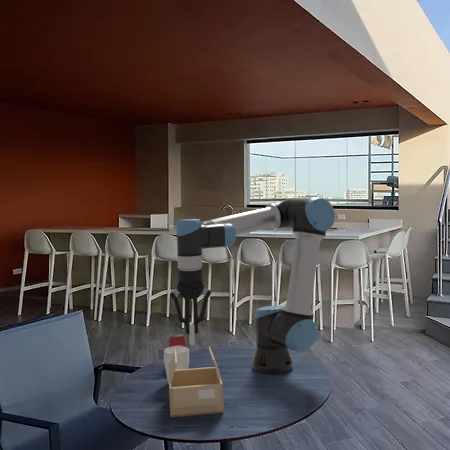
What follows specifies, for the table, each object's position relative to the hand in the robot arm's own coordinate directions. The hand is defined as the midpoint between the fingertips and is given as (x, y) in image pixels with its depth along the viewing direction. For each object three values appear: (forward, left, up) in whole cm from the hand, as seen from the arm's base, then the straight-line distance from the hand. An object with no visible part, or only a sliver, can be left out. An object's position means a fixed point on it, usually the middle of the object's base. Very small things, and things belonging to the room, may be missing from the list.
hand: (192, 343), depth 158 cm
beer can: (+4, -39, -20) cm, 44 cm away
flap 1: (+7, 0, -10) cm, 12 cm away
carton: (0, 0, -20) cm, 20 cm away
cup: (+5, -20, -20) cm, 29 cm away
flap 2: (-8, 0, -10) cm, 13 cm away
